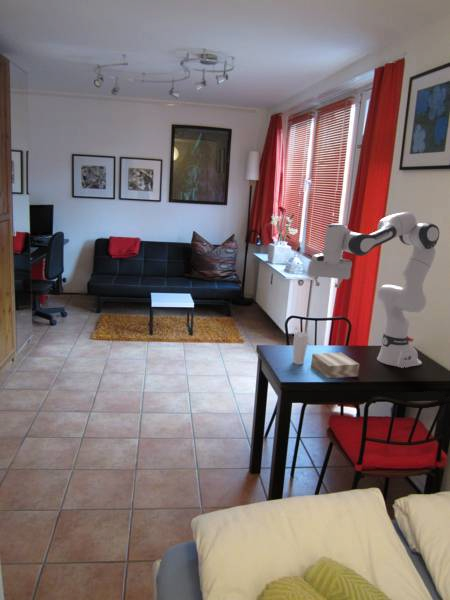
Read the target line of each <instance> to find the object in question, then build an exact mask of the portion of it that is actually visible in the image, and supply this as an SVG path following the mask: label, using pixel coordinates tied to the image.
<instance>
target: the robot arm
mask: <svg viewBox="0 0 450 600" xmlns="http://www.w3.org/2000/svg"><path fill="white" fill-rule="evenodd" d="M398 237H399V240H400V242H401V243H402V244H404V245H407V246H413V251H412V253H411V254H410V256H409V258H408V260H407V261H406V264H405V266H404V267H403V269H402V270H401V271H402V272H401V274H402V278H403V279H404V280H405V284H404V286H399V285H395V284H384V285H382V286H380V287H379V290H378V293H377V298H378V300H379V302H380V303H381V304H382V307H383V309H384V314H385V325H384V331H383V334H382V341H381V347H380V350H379V353H378V355H377V357H376V360H377V361H378V362H380V363H382V364H385V365H389V366H394V367H397V368H401V369H404V367H405V368H409V367H414V366H415V367H416V366H420V365H422V364H423V363H422V360H420V359H419V357H418V355H419V353H418V351H417V350H416V349H415V348H414V347H413V346H412V345H411V344H410V342H411V343H412V342H414V338H413V337H411V336H408V332H409V326H410V322H409V319H408V318H407V317H406V315H405V314H404V312H408V313H416V314H417V313H420V312H422V311H423V310H424V309H425V307H426V305H427V298H426V295H425V294H424V291H423V287H424V286H423V285H424V282H425V278H426V277H427V275H428V272H429V271H430V269H431V267H432V265H433V262H434V260H435V257H436V253H437V252H436V249H435V246H436V245H437V243H438V242H439V238H440V228H439V227H438V226H437V225H435V224H434V223H431V222H427V223H425V222H417V218H416V216H415V215H414V214H413V213H412V212H410V211H402V212H401V211H400V212H397V213H393V214H390V215H387V216H386V217H383V218H381V219H380V220H379V222H378V224H377V230H376V231H375V232H374V231H373V232H372V233H369V234H366V233H359V232H354V231H352V230H350V229H349V228H347V227H346V226H345V224H344V223H342V222H341V223H340V222H338V223H337V222H336V223H335V222H334V223H330V224H328V225H327V227H326V230H325V234H324V238H323V244H324V245H323V249H322V252H320V253H315V254H312V255H311V260H310V261H309V263H308V267H307V275H308V276H310V277H313V279H314V281H315V286H316V287H320V281H318V279H319V278H327V279H329V278H331V279H337V280H338V281H337V283H334V288H336V289H337V288H338V289H339V287H340V285H341V283H342V282H343V280H349V279H350V278H351V273H352V272H351V271H352V267H353V262H352V260H350V259H345V258H342V253H343V251H344V252H347V253H350V254H353V255H356V256H359V257H363V256H366V255H368V254H369V253H370V252H371V251H372V250H373V249H375V248H376V247H378V246H380V245H384V244H385V243H387V242H389V241H391V240H393V239H395V238H398Z"/></svg>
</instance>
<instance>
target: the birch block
mask: <svg viewBox="0 0 450 600" xmlns="http://www.w3.org/2000/svg"><path fill="white" fill-rule="evenodd" d="M310 365H311V367H312V368H313V369H315V370H317V371H318V372H319V374H321V375H323V376H324V377H326V378H327V379H339V378H348V377H349V378H350V377H353V378H354V377H358V376H359V371H360V363H359V362H357V361H355V360H354V359H352V358H350V357H349V356H347V355H346V354H344V353H343V352H340V351H339V352H325V353H324V352H323V353H322V352H321V353H312V355H311V364H310Z"/></svg>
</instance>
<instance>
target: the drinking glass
mask: <svg viewBox="0 0 450 600" xmlns="http://www.w3.org/2000/svg"><path fill="white" fill-rule="evenodd" d="M293 335H294V336H293V346H292V347H293V349H292V351H293V354H292V355H293V357H292V362H293V364H294V365H297V366H299V365H303V364H305V358H306V357H305V356H306V351H307V348H308V347H307V346H308V341H309V334H308V333H307V332H304V331H303V332H302V331H296V332H294V334H293Z"/></svg>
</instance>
